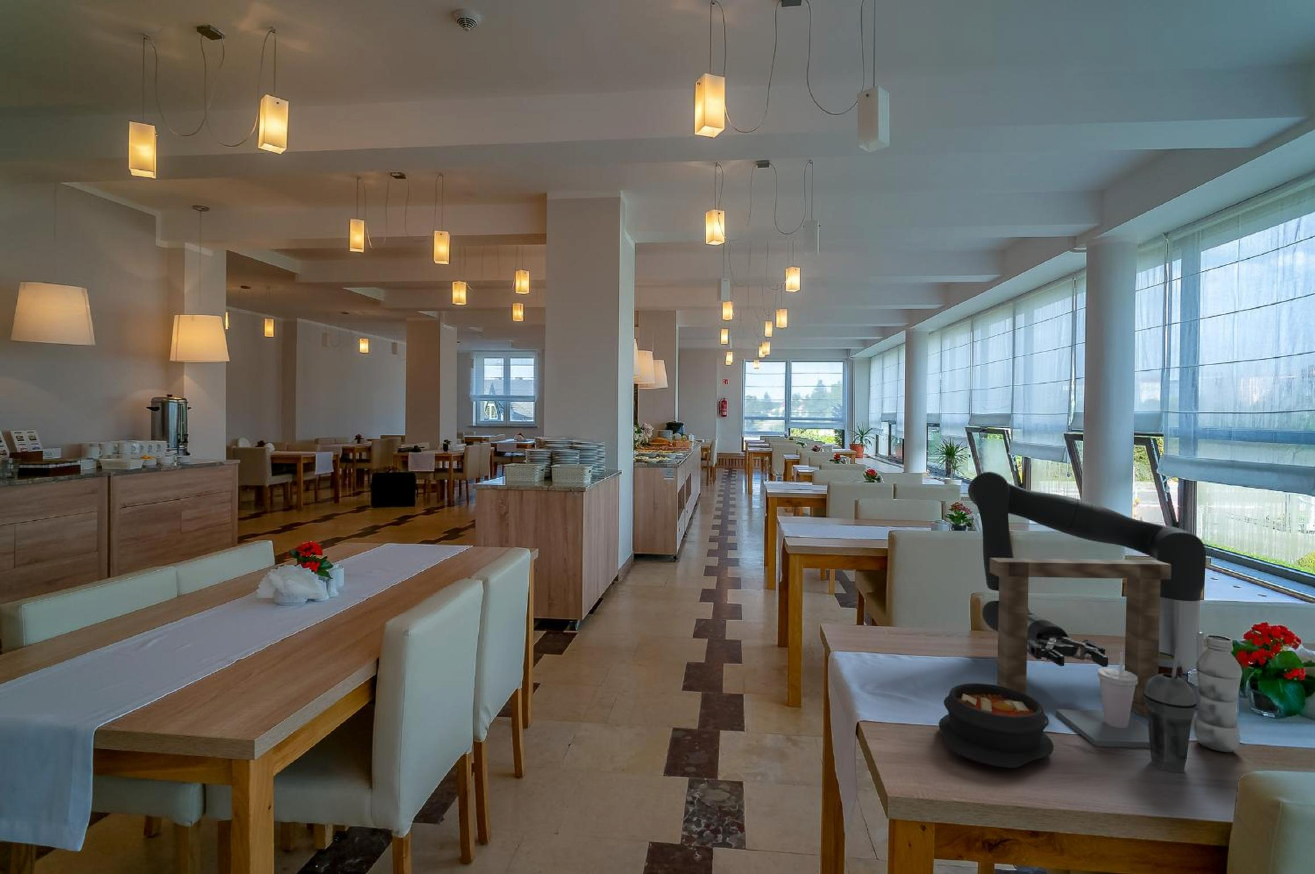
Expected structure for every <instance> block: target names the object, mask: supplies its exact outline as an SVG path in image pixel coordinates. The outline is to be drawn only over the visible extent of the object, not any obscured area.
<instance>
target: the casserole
mask: <svg viewBox="0 0 1315 874" xmlns="http://www.w3.org/2000/svg"><path fill="white" fill-rule="evenodd" d="M943 706H944V708H945V709H946V711H947V714H945V715H944V716H943V717H942V718H940V720H939V722H938V728H939V730H940V732H941V734H942V735H943V738H944V739H943V741H944V745H945V747H946V748H947V749H948V750H949V751H951V752H952V753H954V754H957V755H958V756H961V757H963V758H965V759H968V760H971V761H974V762H977V763H981V764H984V765H988V766H994V767H998V768H1005V769H1015V768H1020V767H1021V766H1024V765H1026V764H1028V763H1030V762H1033V761H1036V760H1039V759H1043V758H1046V757H1048V756H1051V754H1052V753H1053V751H1054V746H1055V745H1054V743H1053V741H1052V740H1051V739H1050V738H1049V736H1048V735H1047V734H1046V733H1045V732H1044V731H1045V729H1046V728H1047V727H1048V726H1049V724H1050V723H1049V722H1050V720H1049V717H1048V716H1047V714H1045V712H1044V709H1043V707H1042V704H1041V703H1040V702H1039V701H1038V700H1037V699H1035V698H1034V697H1032V696H1030V695H1028V694H1027V693H1026V694H1024V693H1022V692H1019V691H1016V690H1013V689H1010V688H1006V687H1002V686H997V684H996V685H995V684H991V683H990V684H988V683H980V682H979V683H976V682H975V683H962V684H958V685H955V686H954V687H952V688H951V689H950V691H949V694H948V696H946V697H945V698H944V700H943Z"/></svg>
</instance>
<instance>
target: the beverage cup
mask: <svg viewBox="0 0 1315 874" xmlns="http://www.w3.org/2000/svg"><path fill="white" fill-rule="evenodd" d="M1178 655H1179V650H1178V649H1175V656H1174V663H1173V670H1172V674H1158V675H1155V676H1153V677H1152V678H1150V679H1149V681H1148V682H1147V684H1146V686H1145V690H1144V693H1143V695H1144V700H1145V705H1146V707H1147V717H1148V718H1147V728H1148V730H1149V743H1150V748H1149V751H1150V752H1149V753H1150V758H1151V763H1152V765H1153V766H1154V767H1157V768H1158V769H1161V770H1162V771H1167V772H1171V773H1179V772H1180V773H1183V772H1185V771H1186V770H1185V768H1186V763H1187V759H1188V752H1189V744H1190V736H1191V729H1192V728H1191V727H1192V723H1193V722H1192V721H1193V718H1194V715H1195V712H1196V707H1198V704H1197V703H1198V702H1197V700H1196V696H1195V693H1194V690H1193V689H1192V687H1191V686H1190V684H1188V682H1187V681H1185V680H1184V679H1183V678H1179V677H1177V676H1176V670H1177V663H1178Z"/></svg>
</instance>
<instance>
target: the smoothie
mask: <svg viewBox="0 0 1315 874" xmlns="http://www.w3.org/2000/svg"><path fill="white" fill-rule="evenodd" d="M1123 665H1124V651H1121V650H1119V664H1118V668H1116V667H1100V668H1098V669H1097V673H1096V675H1097V677H1098V679H1099V686H1100V695H1101V703H1102V710H1103V714H1104V722H1105V723H1106V724H1108V725H1110V726H1113V727H1116V728H1127V727H1128V723H1129V717H1130V716H1131V711H1132V709H1131V707H1132V701H1133V696H1134V691H1135V685H1136V684H1138V677H1137V676H1136V675H1134V674H1133V673H1131V672H1128V671H1125V669H1124V666H1123Z"/></svg>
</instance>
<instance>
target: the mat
mask: <svg viewBox="0 0 1315 874" xmlns="http://www.w3.org/2000/svg"><path fill="white" fill-rule="evenodd" d="M1055 715H1056V716H1057V717H1059V718H1060V719H1061V720H1062V721H1063V722H1064V723H1066V724H1067V725H1069V727H1071V728H1072V729H1074V730H1075V731H1076V732H1077V733H1078V734H1079V735H1081V736H1082V737H1083V738H1085V739H1086V740H1087V741H1088V742H1090V743H1091V744H1092V745H1093V746H1094V747H1110V748H1145V749H1147V748H1149V749H1150V743H1149V730H1148V726H1146V725H1145V724H1143V723H1141V722H1140V721H1138V720H1137V719H1135V718H1133V717H1132V716H1131V715H1130V717H1129V723H1128V727H1127V728H1116V727H1113V726H1110V725H1108V724H1106V723H1105V722H1104V714H1103V709H1102V710H1095V709H1094V710H1093V709H1062V708H1061V709H1057V708H1056V709H1055Z"/></svg>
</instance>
